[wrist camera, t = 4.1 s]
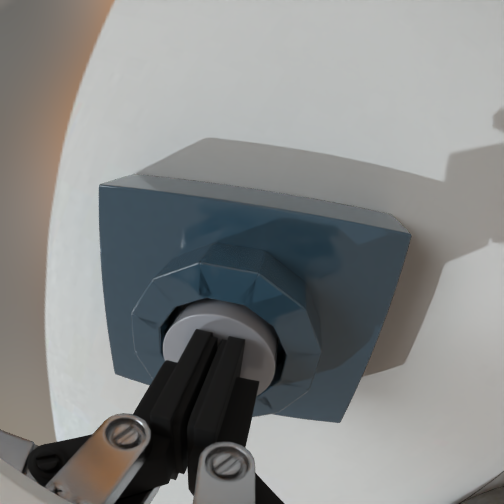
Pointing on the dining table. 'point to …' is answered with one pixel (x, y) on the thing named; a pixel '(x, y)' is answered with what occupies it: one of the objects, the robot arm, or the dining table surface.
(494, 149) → the dining table surface
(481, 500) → the bowl
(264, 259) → the button housing
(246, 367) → the grey button cap
